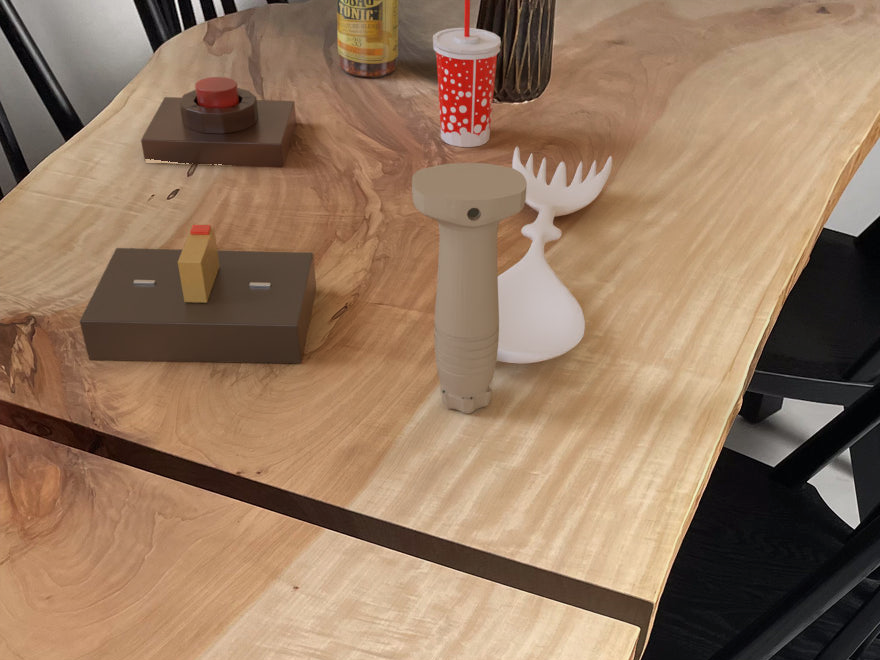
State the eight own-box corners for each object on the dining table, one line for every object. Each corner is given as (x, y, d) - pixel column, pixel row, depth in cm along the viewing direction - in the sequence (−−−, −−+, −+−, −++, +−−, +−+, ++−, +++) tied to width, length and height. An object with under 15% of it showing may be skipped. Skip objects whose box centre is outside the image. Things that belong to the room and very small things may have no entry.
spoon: (612, 189, 97) (616, 151, 94) (574, 393, 72) (579, 348, 70) (511, 178, 97) (512, 140, 95) (440, 377, 73) (440, 332, 71)
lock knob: (207, 302, 73) (200, 258, 71) (184, 302, 73) (176, 258, 71) (219, 266, 77) (213, 223, 75) (198, 265, 77) (191, 223, 75)
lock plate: (88, 360, 73) (78, 318, 71) (123, 284, 81) (115, 245, 78) (301, 363, 74) (297, 323, 72) (316, 289, 81) (313, 250, 79)
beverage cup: (488, 122, 107) (493, -33, 97) (504, 148, 102) (511, -13, 93) (426, 126, 105) (425, -32, 96) (440, 152, 101) (440, -11, 92)
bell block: (145, 164, 96) (136, 119, 94) (168, 120, 104) (161, 77, 101) (283, 168, 97) (279, 123, 94) (296, 124, 104) (292, 81, 102)
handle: (412, 382, 73) (408, 164, 63) (509, 378, 74) (519, 162, 64) (418, 425, 69) (415, 201, 59) (519, 420, 70) (532, 198, 60)
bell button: (194, 110, 96) (191, 90, 95) (201, 95, 99) (199, 76, 98) (236, 112, 97) (233, 92, 96) (242, 96, 99) (240, 77, 98)
